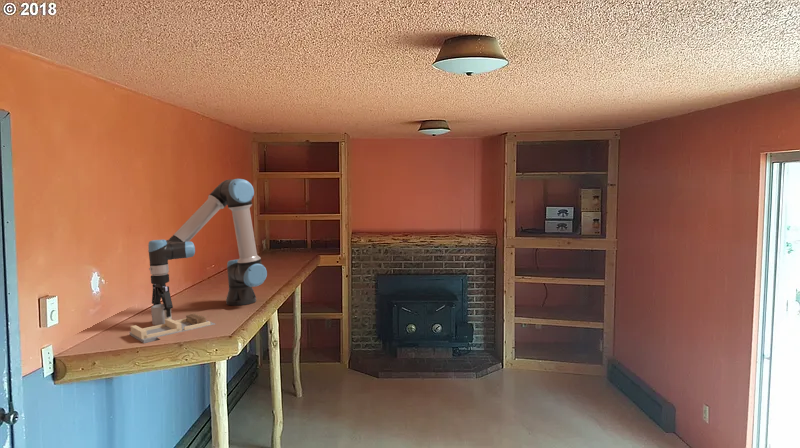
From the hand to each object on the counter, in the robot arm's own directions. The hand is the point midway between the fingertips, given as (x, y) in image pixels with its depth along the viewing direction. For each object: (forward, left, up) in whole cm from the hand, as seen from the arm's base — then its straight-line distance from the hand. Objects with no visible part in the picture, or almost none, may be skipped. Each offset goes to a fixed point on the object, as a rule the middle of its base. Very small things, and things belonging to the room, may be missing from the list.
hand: (163, 321), depth 238 cm
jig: (+1, +15, -1) cm, 15 cm away
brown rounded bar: (-9, +15, 0) cm, 17 cm away
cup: (0, 0, -2) cm, 2 cm away
